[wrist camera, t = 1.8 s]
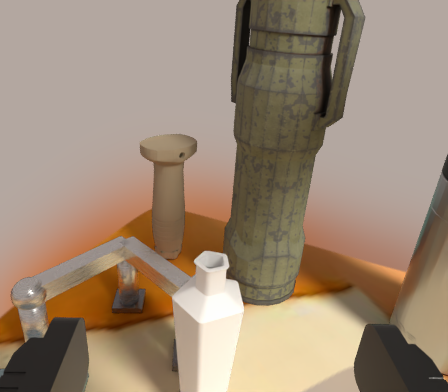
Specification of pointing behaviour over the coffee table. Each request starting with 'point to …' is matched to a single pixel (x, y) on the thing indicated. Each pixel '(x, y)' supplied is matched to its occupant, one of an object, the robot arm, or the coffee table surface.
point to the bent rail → (90, 266)
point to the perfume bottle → (207, 325)
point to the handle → (168, 189)
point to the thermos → (282, 131)
